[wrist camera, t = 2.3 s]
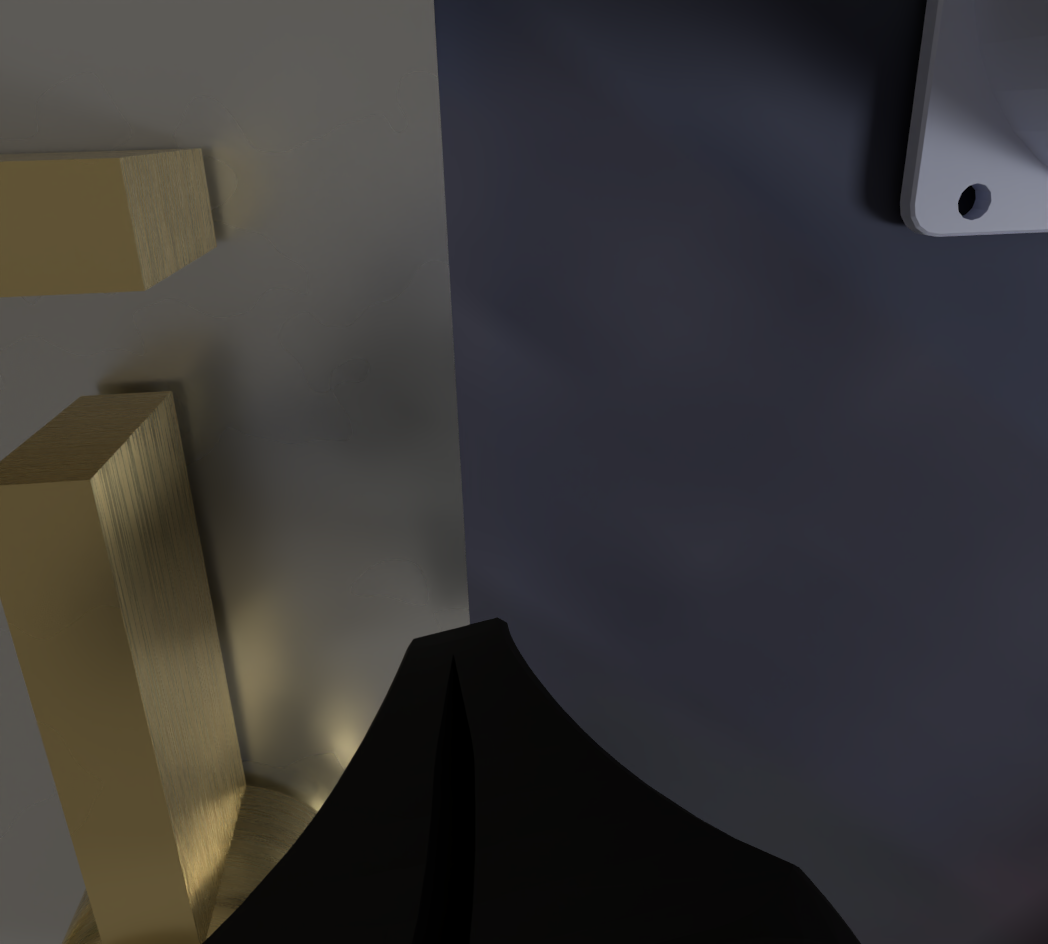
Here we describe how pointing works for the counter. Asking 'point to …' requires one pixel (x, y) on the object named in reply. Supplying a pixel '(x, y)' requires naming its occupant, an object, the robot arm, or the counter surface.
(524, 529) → the counter surface
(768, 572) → the counter surface
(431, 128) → the levelling plate
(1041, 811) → the counter surface
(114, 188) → the knob
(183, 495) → the knob
